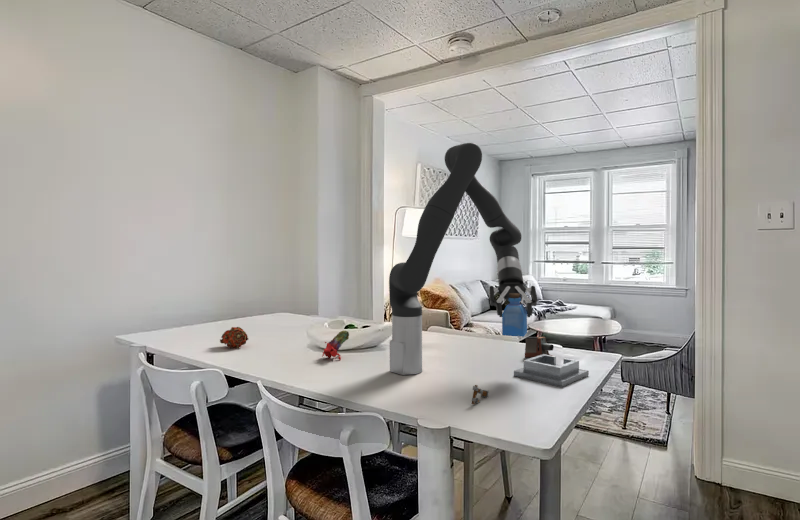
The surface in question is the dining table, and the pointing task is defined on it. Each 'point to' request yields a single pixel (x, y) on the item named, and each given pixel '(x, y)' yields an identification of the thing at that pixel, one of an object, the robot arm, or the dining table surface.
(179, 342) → the dining table surface
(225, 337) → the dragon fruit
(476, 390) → the wooden post with brackets
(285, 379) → the dining table surface
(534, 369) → the grey square frame
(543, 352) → the electronic device
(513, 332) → the perfume bottle
